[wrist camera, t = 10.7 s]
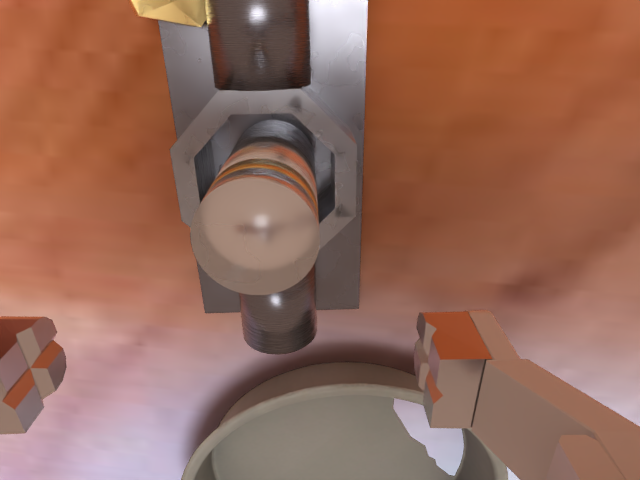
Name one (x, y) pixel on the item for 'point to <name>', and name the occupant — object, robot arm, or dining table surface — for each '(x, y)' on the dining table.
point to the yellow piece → (172, 11)
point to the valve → (260, 213)
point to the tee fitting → (285, 105)
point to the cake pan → (330, 431)
